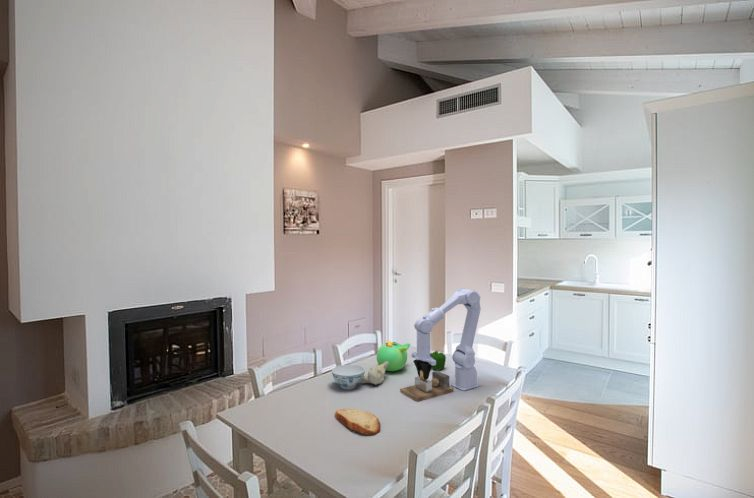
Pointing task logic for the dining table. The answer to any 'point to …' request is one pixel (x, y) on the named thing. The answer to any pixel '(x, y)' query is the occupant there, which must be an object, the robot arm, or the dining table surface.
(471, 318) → the robot arm
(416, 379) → the jaw
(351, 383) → the chinaware
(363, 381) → the ginger root
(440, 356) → the bell pepper
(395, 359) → the toy bird
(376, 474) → the dining table surface
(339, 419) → the bread slice
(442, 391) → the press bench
